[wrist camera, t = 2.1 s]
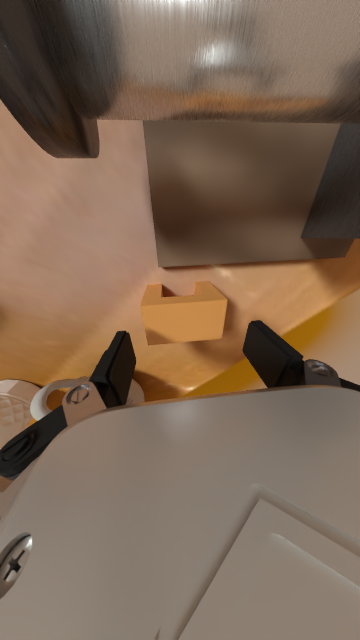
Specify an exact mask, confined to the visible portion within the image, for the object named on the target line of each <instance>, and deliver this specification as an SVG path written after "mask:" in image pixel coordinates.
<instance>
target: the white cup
mask: <svg viewBox="0 0 360 640" xmlns="http://www.w3.org/2000/svg"><path fill="white" fill-rule="evenodd" d="M40 389H41V388H39V387H37V386H36V385H34V384H32V383H29V382H25V381H22V380H10V379H7V380H3V381H0V450H1V448H2V447H3V446H4V445H5V444H6V443H7V442H8V441H9V440H11V439H12V438H13V437H15V436H16V435H17V434H19V433H20V432H22V431H23V430H25V428H26V427H27V426H28V424H29V423H30V421H31V419H32V418H33V416H32V415H31V412H30V406H31V402H32V400H33V398H34V396H35V395H36V393H37V392H38V391H39V390H40Z"/></svg>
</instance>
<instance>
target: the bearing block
mask: <svg viewBox="0 0 360 640" xmlns="http://www.w3.org/2000/svg"><path fill="white" fill-rule="evenodd" d="M300 238H360V124H341V125H340V128H339V131H338V133H337V136H336V139H335V142H334V145H333V147H332V150H331V153H330V156H329V159H328V161H327V164H326V167H325V170H324V173H323V175H322V178H321V181H320V184H319V187H318V189H317V192H316V195H315V198H314V201H313V203H312V206H311V209H310V212H309V215H308V217H307V220H306V223H305V226H304V229H303V231H302V234H301V237H300Z"/></svg>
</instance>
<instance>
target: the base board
mask: <svg viewBox="0 0 360 640" xmlns="http://www.w3.org/2000/svg"><path fill="white" fill-rule="evenodd" d="M340 125H341V124H334V123H274V122H214V121H155V120H143V127H144V137H145V146H146V155H147V165H148V174H149V183H150V192H151V202H152V211H153V220H154V230H155V239H156V248H157V257H158V267H171V266H190V265H208V264H227V263H246V262H264V261H283V260H302V259H320V258H339V257H345V255H346V254H347V252H348V250H349V248H350V246H351V244H352V242H353V240H354V238H300V237H301V234H302V231H303V229H304V226H305V223H306V220H307V217H308V215H309V212H310V209H311V206H312V203H313V201H314V198H315V195H316V192H317V189H318V187H319V184H320V181H321V178H322V175H323V173H324V170H325V167H326V164H327V161H328V159H329V156H330V153H331V150H332V147H333V145H334V142H335V139H336V136H337V133H338V131H339V128H340Z"/></svg>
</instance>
